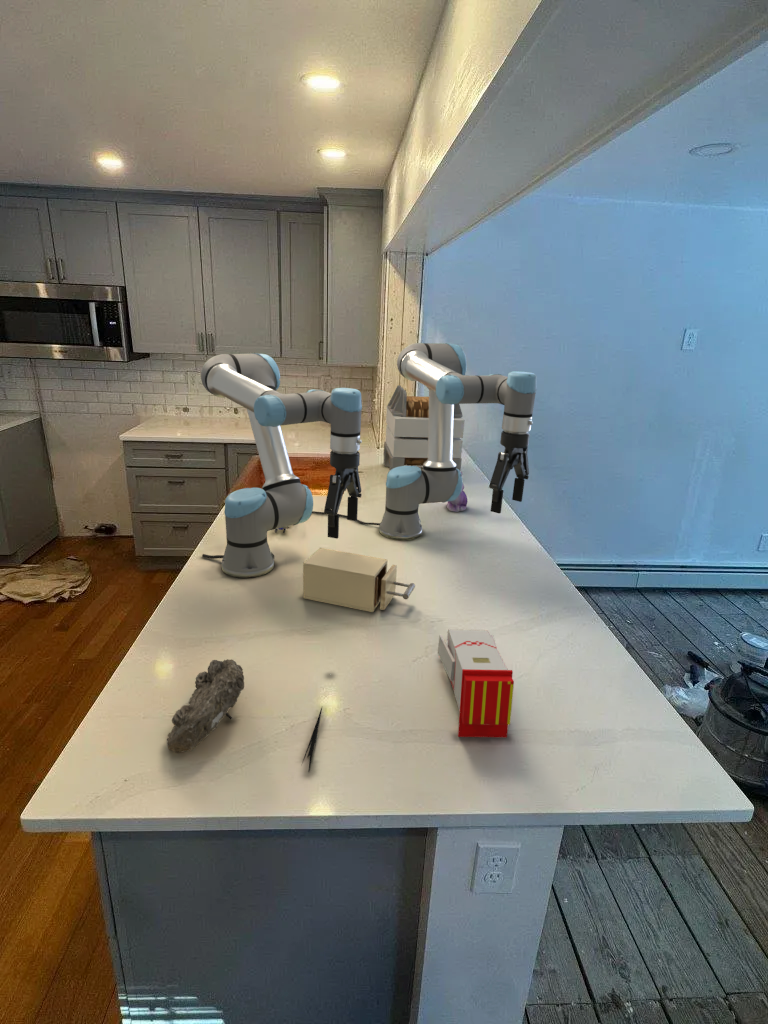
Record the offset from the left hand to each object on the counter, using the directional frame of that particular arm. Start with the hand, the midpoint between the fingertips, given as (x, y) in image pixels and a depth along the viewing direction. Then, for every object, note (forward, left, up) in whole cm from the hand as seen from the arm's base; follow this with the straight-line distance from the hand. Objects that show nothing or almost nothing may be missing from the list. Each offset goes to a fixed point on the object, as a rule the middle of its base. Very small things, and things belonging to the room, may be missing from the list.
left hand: (342, 528), depth 151 cm
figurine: (+2, +85, -19) cm, 87 cm away
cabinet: (+2, -2, -19) cm, 19 cm away
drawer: (+8, 0, -18) cm, 20 cm away
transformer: (-32, +124, -19) cm, 129 cm away
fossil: (+6, -56, -19) cm, 59 cm away
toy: (+46, -23, -19) cm, 55 cm away
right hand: (+36, +29, +5) cm, 46 cm away
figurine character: (-43, +29, -19) cm, 55 cm away
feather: (+24, -46, -19) cm, 55 cm away
